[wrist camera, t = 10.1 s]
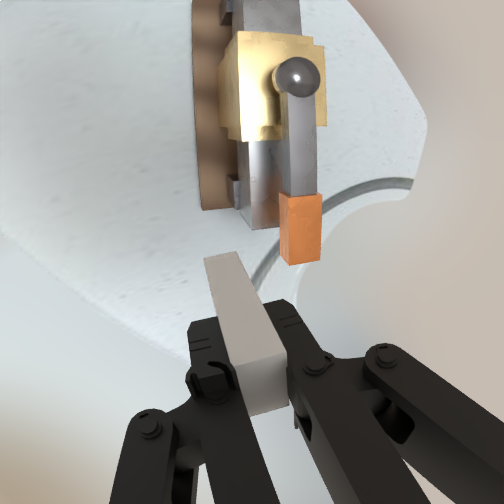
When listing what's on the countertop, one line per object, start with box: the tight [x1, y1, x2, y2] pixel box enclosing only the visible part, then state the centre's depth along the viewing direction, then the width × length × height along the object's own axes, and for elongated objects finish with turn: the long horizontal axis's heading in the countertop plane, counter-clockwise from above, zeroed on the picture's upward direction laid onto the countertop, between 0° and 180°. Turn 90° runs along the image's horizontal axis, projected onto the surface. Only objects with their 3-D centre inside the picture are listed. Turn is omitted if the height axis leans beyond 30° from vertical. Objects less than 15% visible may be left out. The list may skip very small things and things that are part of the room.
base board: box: [192, 0, 238, 211], centre depth 30 cm, size 26×12×2 cm, turn 2°
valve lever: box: [272, 57, 322, 266], centre depth 20 cm, size 15×3×2 cm, turn 3°
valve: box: [217, 0, 327, 230], centre depth 24 cm, size 25×7×13 cm, turn 2°
